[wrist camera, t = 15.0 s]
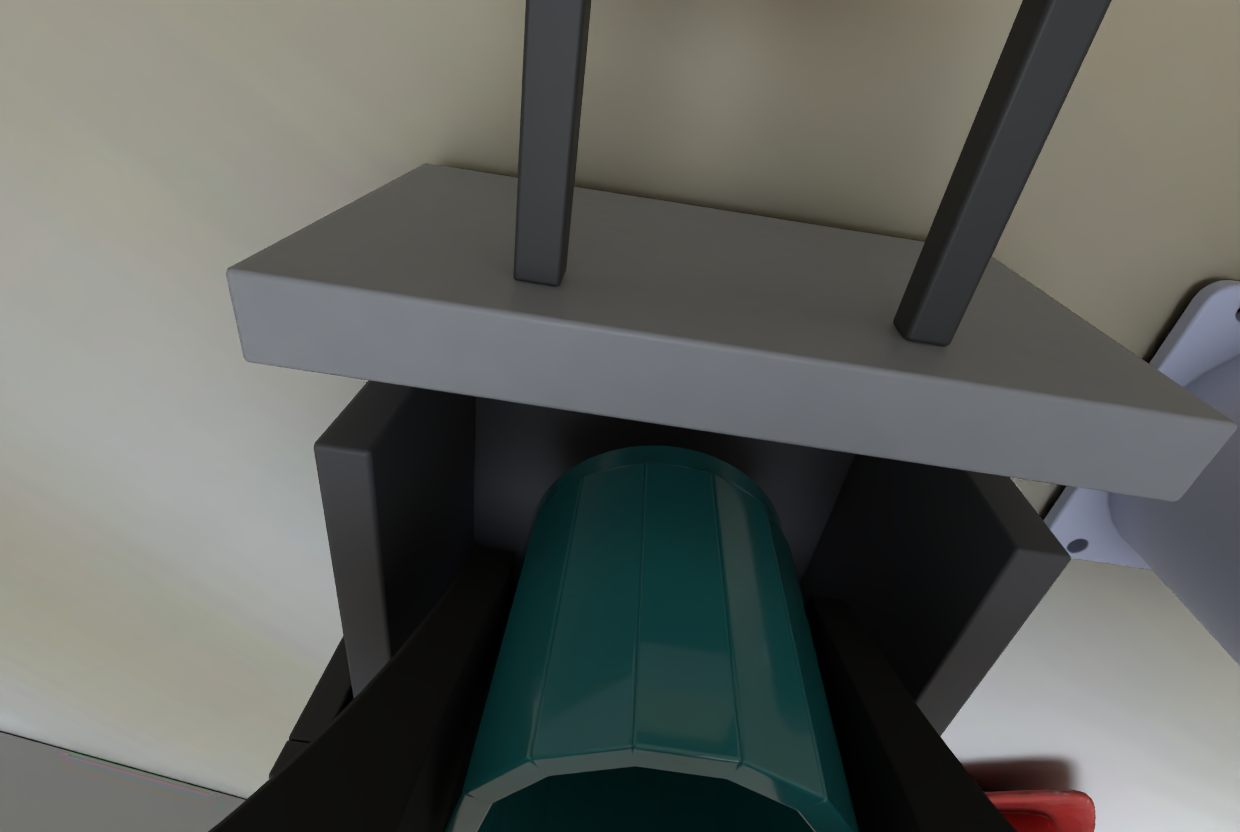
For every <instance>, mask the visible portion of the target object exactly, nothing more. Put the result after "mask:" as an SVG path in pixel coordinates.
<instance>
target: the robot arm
mask: <svg viewBox="0 0 1240 832" xmlns="http://www.w3.org/2000/svg"><path fill="white" fill-rule="evenodd" d="M1239 308H1240V281H1233V280H1220V281H1217V282H1214V283H1211V284H1209V285H1208V286H1206V287H1205V288H1203V289H1202V290H1200V291H1199V292H1198V293H1197V295H1196V296H1195V297H1194V298H1193V299H1192V301H1191V302H1190V304H1189V305H1188V307H1187V308H1186V310H1185V311H1184V313H1183V314H1182V316H1181V317H1180V318H1179V320H1178V321H1177V323H1176V324H1175V326H1174V327H1173V329H1172V330H1171V332H1170V333H1169V335H1168V336H1167V338H1166V339H1165V341H1164V342H1163V344H1162V345H1161V347H1160V348H1159V350H1158V351H1157V353H1156V354H1155V356H1154V357H1153V359H1152V360H1151V362H1150V363H1149V364H1150V365H1151V366H1153V367H1154V368H1156V369H1157V370H1159V371H1160V372H1162V373H1163V374H1165V375H1166V376H1167V377H1169V378H1170V379H1172V380H1173V381H1175V382H1176V383H1178V384H1179V385H1181V386H1182V387H1184V388H1185V389H1187V390H1188V391H1189V392H1191V393H1192V394H1194V395H1195V396H1197V397H1198V398H1200V399H1201V400H1203V401H1204V402H1206V403H1207V404H1209V405H1210V406H1211V407H1213V408H1214V409H1216V410H1217V411H1219V412H1220V413H1222V414H1223V415H1225V416H1226V417H1228V418H1229V419H1231V420H1232V421H1233V422H1235V423H1236V424H1237V430H1236V431H1235V432H1234V433H1233V435H1232V436H1231V437H1230V438H1229V440H1228V441H1227V442H1226V443H1225V444H1224V446H1223V447H1222V448H1221V449H1220V451H1219V452H1218V453H1217V454H1216V456H1215V457H1214V458H1213V459H1212V460H1211V462H1210V463H1209V464H1208V465H1207V467H1206V468H1205V469H1204V470H1203V472H1202V473H1201V474H1200V475H1199V476H1198V478H1197V479H1196V480H1195V481H1194V483H1193V484H1192V485H1191V486H1190V488H1189V489H1188V490H1187V491H1186V492H1185V494H1184V495H1183V496H1182V497H1181V499H1180V500H1178V501H1175V502H1171V501H1165V500H1158V499H1151V498H1145V497H1138V496H1131V495H1125V494H1118V493H1112V492H1105V491H1098V490H1092V489H1085V488H1079V487H1072V486H1066V488H1065V489H1064V491H1063V492H1062V494H1061V495H1060V497H1059V498H1058V500H1057V501H1056V503H1055V504H1054V506H1053V507H1052V509H1051V510H1050V512H1049V513H1048V515H1047V516H1046V517H1045V519H1044V520H1043V521H1044V522H1045V524H1046V525H1047V526H1048V528H1049V529H1050V530H1051V531H1052V533H1053V534H1054V535H1055V537H1056V538H1057V539H1058V540H1059V542H1060V543H1061V544H1062V546H1063V547H1064V548H1065V549H1066V551H1067V552H1068V553H1069V555H1070V556H1071V558H1074V559H1081V560H1088V561H1094V562H1101V563H1108V564H1115V565H1121V566H1128V567H1135V568H1141V569H1148V570H1153V571H1154V572H1155V573H1156V574H1157V575H1158V577H1159V578H1160V579H1161V580H1162V581H1163V582H1164V583H1165V584H1166V585H1167V586H1168V588H1169V589H1170V590H1171V591H1172V592H1173V593H1174V594H1175V595H1176V596H1177V597H1178V599H1179V600H1180V601H1181V602H1182V603H1183V604H1184V605H1185V606H1186V607H1187V608H1188V610H1189V611H1190V612H1191V613H1192V614H1193V615H1194V616H1195V617H1196V618H1197V619H1198V621H1199V622H1200V623H1201V624H1202V625H1203V626H1204V627H1205V628H1206V629H1207V630H1208V632H1209V633H1210V634H1211V635H1212V636H1213V637H1214V638H1215V639H1216V640H1217V642H1218V643H1219V644H1220V645H1221V646H1222V647H1223V648H1224V649H1225V650H1226V651H1227V653H1228V654H1229V655H1230V656H1231V657H1232V658H1233V659H1234V660H1235V661H1236V662H1237V664H1238V665H1239V666H1240V312H1239V313H1237V314H1236V312H1237V310H1238V309H1239ZM1073 540H1075V541H1073ZM1071 541H1073V542H1071ZM514 568H515V551H508V550H501V549H494V548H487V547H479V548H477V549H476V550H474V551H473V553H472V554H471V556H470V558H469V559H468V561H467V562H466V564H465V565H464V567H463V568H462V570H461V571H460V573H459V574H458V575H457V577H456V578H455V580H454V581H453V582H452V584H451V585H450V587H449V588H448V589H447V591H446V592H445V593H444V595H443V596H442V597H441V599H440V600H439V601H438V602H437V604H436V605H435V606H434V608H433V609H432V610H431V612H430V613H429V614H428V615H427V616H426V618H425V619H424V620H423V621H422V622H421V624H420V625H419V626H418V627H417V629H416V630H415V631H414V632H413V633H412V635H411V636H410V637H409V638H408V639H407V641H406V642H405V643H404V644H403V645H402V647H401V648H400V649H399V650H398V651H397V652H396V654H395V655H394V656H393V657H392V658H391V659H390V660H389V661H388V662H387V663H386V665H385V666H384V667H383V668H382V669H381V670H380V671H379V672H378V673H377V674H376V676H375V677H374V678H373V679H372V680H371V681H370V682H369V683H368V684H367V685H366V686H365V688H364V689H363V690H362V691H361V692H360V693H359V694H358V695H357V696H356V697H355V698H354V699H353V700H352V701H351V702H350V703H349V704H348V705H347V706H346V707H345V708H344V710H343V711H342V712H341V713H340V714H339V715H338V716H337V717H336V718H335V719H334V720H333V721H332V722H331V723H330V724H329V725H328V726H327V727H325V728H324V729H323V730H322V731H321V732H320V733H319V734H318V735H317V736H316V737H315V738H314V739H313V740H312V741H311V742H310V743H309V744H308V745H307V746H306V747H305V748H304V749H302V750H301V751H300V752H299V753H298V754H297V755H296V756H295V757H294V758H293V759H292V760H290V761H289V762H288V763H287V764H286V765H285V766H284V767H283V768H282V769H280V770H279V771H278V772H277V773H276V774H275V775H274V776H273V777H271V778H270V779H269V780H268V781H267V782H266V783H265V784H264V785H263V786H261V787H260V788H259V789H258V790H257V791H256V792H255V793H254V794H252V795H251V796H250V797H249V798H248V799H247V800H245V801H244V802H243V803H242V804H241V805H240V806H238V807H237V808H236V809H235V810H234V811H233V812H231V813H230V814H229V815H228V816H227V817H225V818H224V819H223V820H222V821H221V822H219V823H218V824H217V825H216V826H214V827H213V828H212V829H211V830H209V831H208V832H443V829H444V825H445V822H446V818H447V814H448V811H449V807H450V804H451V800H452V797H453V793H454V789H455V786H456V782H457V779H458V775H459V772H460V768H461V764H462V761H463V757H464V754H465V750H466V747H467V743H468V740H469V736H470V732H471V729H472V725H473V722H474V718H475V715H476V711H477V707H478V704H479V700H480V697H481V693H482V690H483V686H484V682H485V679H486V675H487V672H488V668H489V665H490V661H491V658H492V655H493V652H494V649H495V645H496V642H497V639H498V636H499V632H500V629H501V626H502V622H503V618H504V615H505V611H506V608H507V604H508V600H509V597H510V593H511V590H512V586H513V582H514ZM805 611H806V615H807V619H808V623H809V627H810V632H811V636H812V640H813V644H814V648H815V652H816V656H817V660H818V665H819V669H820V673H821V677H822V681H823V685H824V689H825V693H826V698H827V702H828V706H829V710H830V714H831V718H832V722H833V726H834V731H835V735H836V739H837V743H838V747H839V751H840V755H841V759H842V764H843V768H844V772H845V776H846V780H847V784H848V788H849V792H850V797H851V801H852V805H853V809H854V813H855V817H856V821H857V826H858V830H859V832H1017V831H1016V830H1015V829H1014V827H1013V826H1012V825H1011V824H1010V823H1009V822H1008V821H1007V819H1006V818H1005V817H1004V816H1003V815H1002V814H1001V812H1000V811H999V810H998V809H997V808H996V806H995V805H994V804H993V803H992V802H991V800H990V799H989V798H988V797H987V796H986V794H985V793H984V792H983V791H982V790H981V788H980V787H979V786H978V784H977V783H976V782H975V781H974V779H973V778H972V777H971V776H970V774H969V773H968V772H967V771H966V769H965V768H964V767H963V766H962V764H961V763H960V762H959V761H958V759H957V758H956V757H955V755H954V754H953V753H952V752H951V750H950V749H949V748H948V746H947V745H946V744H945V742H944V741H943V740H942V738H941V737H940V736H939V734H938V733H937V732H936V730H935V729H934V728H933V726H932V725H931V723H930V722H929V721H928V719H927V718H926V717H925V715H924V714H923V712H922V711H921V710H920V708H919V707H918V706H917V704H916V703H915V701H914V700H913V699H912V697H911V696H910V695H909V693H908V692H907V690H906V689H905V687H904V686H903V685H902V683H901V682H900V680H899V679H898V677H897V676H896V675H895V673H894V672H893V670H892V669H891V667H890V666H889V664H888V663H887V661H886V660H885V658H884V657H883V656H882V654H881V653H880V651H879V650H878V648H877V647H876V645H875V644H874V642H873V641H872V639H871V638H870V636H869V635H868V633H867V632H866V630H865V629H864V628H863V626H862V625H861V623H860V622H859V620H858V619H857V617H856V616H855V614H854V613H853V611H852V610H851V608H850V607H849V606H848V604H847V603H846V601H845V600H843V599H836V598H829V597H823V596H816V595H810V596H809V598H808V600H807V602H806V605H805Z"/></svg>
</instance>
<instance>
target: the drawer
mask: <svg viewBox="0 0 1240 832" xmlns="http://www.w3.org/2000/svg"><path fill="white" fill-rule="evenodd" d="M1110 3H1111V0H1023V1H1022V4H1021V6H1020V9H1019V11H1018V14H1017V16H1016V19H1015V21H1014V23H1013V26H1012V28H1011V31H1010V33H1009V36H1008V38H1007V41H1006V43H1005V46H1004V48H1003V51H1002V53H1001V56H1000V58H999V60H998V63H997V65H996V68H995V70H994V73H993V75H992V78H991V80H990V83H989V85H988V88H987V90H986V93H985V95H984V97H983V100H982V102H981V105H980V107H979V110H978V112H977V115H976V117H975V120H974V122H973V125H972V127H971V130H970V132H969V135H968V137H967V139H966V142H965V144H964V147H963V149H962V152H961V154H960V157H959V159H958V162H957V164H956V167H955V169H954V172H953V174H952V176H951V179H950V181H949V184H948V186H947V189H946V191H945V194H944V196H943V199H942V201H941V204H940V206H939V209H938V211H937V213H936V216H935V218H934V221H933V223H932V226H931V228H930V231H929V233H928V236H927V238H926V241H925V242H922V241H916V240H909V239H903V238H897V237H890V236H884V235H878V234H871V233H865V232H859V231H852V230H846V229H840V228H833V227H827V226H821V225H814V224H808V223H802V222H795V221H789V220H783V219H776V218H770V217H764V216H757V215H751V214H744V213H738V212H732V211H725V210H719V209H713V208H706V207H700V206H694V205H687V204H681V203H675V202H668V201H662V200H656V199H649V198H643V197H637V196H630V195H624V194H618V193H611V192H605V191H599V190H592V189H586V188H580V187H574V181H575V171H576V160H577V149H578V138H579V128H580V117H581V106H582V95H583V85H584V74H585V63H586V52H587V42H588V31H589V20H590V9H591V0H526V11H525V33H524V55H523V76H522V98H521V120H520V142H519V164H518V178H516V177H510V176H504V175H497V174H491V173H485V172H478V171H472V170H466V169H459V168H453V167H447V166H440V165H434V164H428V163H426V164H423V165H421V166H419V167H417V168H415V169H414V170H412V171H410V172H408V173H406V174H404V175H402V176H400V177H399V178H397V179H395V180H393V181H391V182H389V183H387V184H385V185H384V186H382V187H380V188H378V189H376V190H374V191H372V192H370V193H369V194H367V195H365V196H363V197H361V198H359V199H357V200H355V201H353V202H352V203H350V204H348V205H346V206H344V207H342V208H340V209H338V210H337V211H335V212H333V213H331V214H329V215H327V216H325V217H323V218H322V219H320V220H318V221H316V222H314V223H312V224H310V225H308V226H307V227H305V228H303V229H301V230H299V231H297V232H295V233H293V234H291V235H290V236H288V237H286V238H284V239H282V240H280V241H278V242H276V243H275V244H273V245H271V246H269V247H267V248H265V249H263V250H261V251H260V252H258V253H256V254H254V255H252V256H250V257H248V258H246V259H244V260H243V261H241V262H239V263H237V264H235V265H233V266H231V267H229V268H228V269H227V272H226V276H227V281H228V285H229V290H230V295H231V299H232V304H233V309H234V313H235V318H236V323H237V328H238V332H239V337H240V342H241V346H242V351H243V356H244V358H245V360H246V361H248V362H252V363H259V364H265V365H272V366H278V367H285V368H292V369H298V370H305V371H312V372H318V373H325V374H331V375H338V376H345V377H351V378H358V379H364V380H369V381H368V382H367V383H366V384H365V385H364V387H363V388H362V389H361V390H360V391H359V392H358V394H357V395H356V396H355V397H354V398H353V399H352V401H351V402H350V403H349V404H348V405H347V406H346V408H345V409H344V410H343V411H342V412H341V413H340V414H339V416H338V417H337V418H336V419H335V420H334V421H333V423H332V424H331V425H330V426H329V427H328V428H327V430H326V431H325V432H324V433H323V434H322V435H321V437H320V438H319V439H318V440H317V441H316V442H315V445H314V452H315V458H316V465H317V471H318V477H319V484H320V490H321V496H322V502H323V509H324V515H325V521H326V528H327V534H328V540H329V546H330V553H331V559H332V565H333V572H334V578H335V584H336V590H337V597H338V603H339V609H340V616H341V622H342V628H343V634H344V641H345V647H346V653H347V659H348V666H349V672H350V678H351V685H352V691H353V697H354V698H355V697H356V696H357V695H358V694H359V693H360V692H361V691H362V690H363V689H364V688H365V686H366V685H367V684H368V683H369V682H370V681H371V680H372V679H373V678H374V677H375V676H376V674H377V673H378V672H379V671H380V670H381V669H382V668H383V667H384V666H385V665H386V663H387V662H388V661H389V660H390V659H391V658H392V657H393V656H394V655H395V654H396V652H397V651H398V650H399V649H400V648H401V647H402V645H403V644H404V643H405V642H406V641H407V639H408V638H409V637H410V636H411V635H412V633H413V632H414V631H415V630H416V629H417V627H418V626H419V625H420V624H421V622H422V621H423V620H424V619H425V618H426V616H427V615H428V614H429V613H430V612H431V610H432V609H433V608H434V606H435V605H436V604H437V602H438V601H439V600H440V599H441V597H442V596H443V595H444V593H445V592H446V591H447V589H448V588H449V587H450V585H451V584H452V582H453V581H454V580H455V578H456V577H457V575H458V574H459V573H460V571H461V570H462V568H463V567H464V565H465V564H466V562H467V561H468V559H469V558H470V556H471V554H472V553H473V551H474V550H476V549H477V548H479V547H487V548H494V549H501V550H508V551H515V568H514V575H515V572H516V568H517V565H518V561H519V557H520V554H521V550H522V548H523V545H524V543H525V541H526V538H527V536H528V532H529V528H530V525H531V521H532V518H533V515H534V512H535V509H536V507H537V505H538V503H539V501H540V500H541V498H542V496H543V495H544V493H545V492H546V491H547V490H548V488H549V487H550V486H551V485H552V484H553V483H554V482H555V481H556V480H557V479H558V478H559V477H560V476H561V475H563V474H564V473H565V472H567V471H568V470H570V469H571V468H573V467H574V466H575V465H577V464H579V463H581V462H583V461H585V460H587V459H589V458H591V457H594V456H596V455H599V454H602V453H605V452H608V451H612V450H616V449H620V448H625V447H634V446H642V445H663V446H673V447H681V448H686V449H690V450H695V451H699V452H702V453H705V454H708V455H711V456H714V457H716V458H718V459H720V460H722V461H725V462H727V463H729V464H731V465H732V466H734V467H735V468H737V469H739V470H740V471H742V472H743V473H745V474H746V475H747V476H748V477H749V478H751V479H752V480H753V481H754V482H755V483H756V484H757V485H758V486H759V487H760V488H761V489H762V490H763V491H764V492H765V493H766V495H767V496H768V498H769V499H770V501H771V502H772V504H773V505H774V507H775V509H776V511H777V513H778V516H779V518H780V521H781V525H782V529H783V533H784V537H785V539H786V540H787V542H788V544H789V545H790V549H791V553H792V557H793V561H794V565H795V570H796V574H797V578H798V582H799V586H800V590H801V594H802V599H803V603H804V607H805V605H806V602H807V600H808V598H809V596H810V595H816V596H823V597H829V598H836V599H843V600H845V601H846V603H847V604H848V606H849V607H850V608H851V610H852V611H853V613H854V614H855V616H856V617H857V619H858V620H859V622H860V623H861V625H862V626H863V628H864V629H865V630H866V632H867V633H868V635H869V636H870V638H871V639H872V641H873V642H874V644H875V645H876V647H877V648H878V650H879V651H880V653H881V654H882V656H883V657H884V658H885V660H886V661H887V663H888V664H889V666H890V667H891V669H892V670H893V672H894V673H895V675H896V676H897V677H898V679H899V680H900V682H901V683H902V685H903V686H904V687H905V689H906V690H907V692H908V693H909V695H910V696H911V697H912V699H913V700H914V701H915V703H916V704H917V706H918V707H919V708H920V710H921V711H922V712H923V714H924V715H925V717H926V718H927V719H928V721H929V722H930V723H931V725H932V726H933V728H934V729H935V730H936V732H937V733H938V734H939V736H941V735H942V733H943V732H944V731H945V729H946V728H947V727H948V725H949V724H950V723H951V721H952V720H953V718H954V717H955V716H956V714H957V713H958V712H959V710H960V709H961V708H962V706H963V705H964V704H965V702H966V701H967V699H968V698H969V697H970V695H971V694H972V693H973V691H974V690H975V689H976V687H977V686H978V685H979V683H980V682H981V681H982V679H983V678H984V676H985V675H986V674H987V672H988V671H989V670H990V668H991V667H992V666H993V664H994V663H995V662H996V660H997V659H998V658H999V656H1000V655H1001V653H1002V652H1003V651H1004V649H1005V648H1006V647H1007V645H1008V644H1009V643H1010V641H1011V640H1012V639H1013V637H1014V636H1015V635H1016V633H1017V632H1018V630H1019V629H1020V628H1021V626H1022V625H1023V624H1024V622H1025V621H1026V620H1027V618H1028V617H1029V616H1030V614H1031V613H1032V611H1033V610H1034V609H1035V607H1036V606H1037V605H1038V603H1039V602H1040V601H1041V599H1042V598H1043V597H1044V595H1045V594H1046V593H1047V591H1048V590H1049V588H1050V587H1051V586H1052V584H1053V583H1054V582H1055V580H1056V579H1057V578H1058V576H1059V575H1060V574H1061V572H1062V571H1063V570H1064V568H1065V567H1066V565H1067V564H1068V563H1069V561H1070V560H1071V556H1070V555H1069V553H1068V552H1067V551H1066V549H1065V548H1064V547H1063V546H1062V544H1061V543H1060V542H1059V540H1058V539H1057V538H1056V537H1055V535H1054V534H1053V533H1052V531H1051V530H1050V529H1049V528H1048V526H1047V525H1046V524H1045V522H1044V521H1043V520H1042V519H1041V517H1040V516H1039V515H1038V513H1037V512H1036V511H1035V509H1034V508H1033V507H1032V506H1031V504H1030V503H1029V502H1028V500H1027V499H1026V498H1025V497H1024V495H1023V494H1022V493H1021V491H1020V490H1019V489H1018V488H1017V486H1016V485H1015V484H1014V482H1013V481H1012V480H1011V479H1010V477H1012V478H1019V479H1026V480H1032V481H1039V482H1046V483H1052V484H1059V485H1065V486H1072V487H1079V488H1085V489H1092V490H1098V491H1105V492H1112V493H1118V494H1125V495H1131V496H1138V497H1145V498H1151V499H1158V500H1165V501H1171V502H1175V501H1178V500H1180V499H1181V497H1182V496H1183V495H1184V494H1185V492H1186V491H1187V490H1188V489H1189V488H1190V486H1191V485H1192V484H1193V483H1194V481H1195V480H1196V479H1197V478H1198V476H1199V475H1200V474H1201V473H1202V472H1203V470H1204V469H1205V468H1206V467H1207V465H1208V464H1209V463H1210V462H1211V460H1212V459H1213V458H1214V457H1215V456H1216V454H1217V453H1218V452H1219V451H1220V449H1221V448H1222V447H1223V446H1224V444H1225V443H1226V442H1227V441H1228V440H1229V438H1230V437H1231V436H1232V435H1233V433H1234V432H1235V431H1236V430H1237V424H1236V423H1235V422H1233V421H1232V420H1231V419H1229V418H1228V417H1226V416H1225V415H1223V414H1222V413H1220V412H1219V411H1217V410H1216V409H1214V408H1213V407H1211V406H1210V405H1209V404H1207V403H1206V402H1204V401H1203V400H1201V399H1200V398H1198V397H1197V396H1195V395H1194V394H1192V393H1191V392H1189V391H1188V390H1187V389H1185V388H1184V387H1182V386H1181V385H1179V384H1178V383H1176V382H1175V381H1173V380H1172V379H1170V378H1169V377H1167V376H1166V375H1165V374H1163V373H1162V372H1160V371H1159V370H1157V369H1156V368H1154V367H1153V366H1151V365H1150V364H1148V363H1147V362H1146V361H1144V360H1143V359H1141V358H1140V357H1138V356H1137V355H1135V354H1134V353H1132V352H1131V351H1129V350H1128V349H1126V348H1125V347H1124V346H1122V345H1121V344H1119V343H1118V342H1116V341H1115V340H1113V339H1112V338H1110V337H1109V336H1107V335H1106V334H1104V333H1103V332H1102V331H1100V330H1099V329H1097V328H1096V327H1094V326H1093V325H1091V324H1090V323H1088V322H1087V321H1085V320H1084V319H1082V318H1081V317H1080V316H1078V315H1077V314H1075V313H1074V312H1072V311H1071V310H1069V309H1068V308H1066V307H1065V306H1063V305H1062V304H1060V303H1059V302H1058V301H1056V300H1055V299H1053V298H1052V297H1050V296H1049V295H1047V294H1046V293H1044V292H1043V291H1041V290H1040V289H1038V288H1037V287H1036V286H1034V285H1033V284H1031V283H1030V282H1028V281H1027V280H1025V279H1024V278H1022V277H1021V276H1019V275H1018V274H1017V273H1015V272H1014V271H1012V270H1011V269H1009V268H1008V267H1006V266H1005V265H1003V264H1002V263H1000V262H999V261H997V260H996V259H995V258H993V257H992V254H993V252H994V250H995V248H996V245H997V243H998V241H999V239H1000V237H1001V235H1002V233H1003V231H1004V228H1005V226H1006V224H1007V222H1008V220H1009V218H1010V216H1011V214H1012V211H1013V209H1014V207H1015V205H1016V203H1017V201H1018V199H1019V196H1020V194H1021V192H1022V190H1023V188H1024V186H1025V184H1026V182H1027V179H1028V177H1029V175H1030V173H1031V171H1032V169H1033V167H1034V165H1035V162H1036V160H1037V158H1038V156H1039V154H1040V152H1041V150H1042V147H1043V145H1044V143H1045V141H1046V139H1047V137H1048V135H1049V133H1050V130H1051V128H1052V126H1053V124H1054V122H1055V120H1056V118H1057V115H1058V113H1059V111H1060V109H1061V107H1062V105H1063V103H1064V101H1065V98H1066V96H1067V94H1068V92H1069V90H1070V88H1071V86H1072V84H1073V81H1074V79H1075V77H1076V75H1077V73H1078V71H1079V69H1080V66H1081V64H1082V62H1083V60H1084V58H1085V56H1086V54H1087V52H1088V49H1089V47H1090V45H1091V43H1092V41H1093V39H1094V37H1095V35H1096V32H1097V30H1098V28H1099V26H1100V24H1101V22H1102V20H1103V17H1104V15H1105V13H1106V11H1107V9H1108V7H1109V5H1110Z"/></svg>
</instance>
